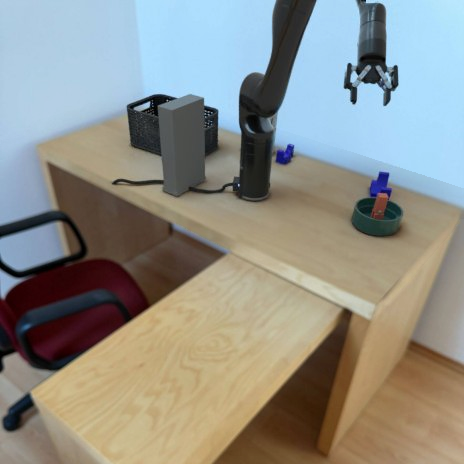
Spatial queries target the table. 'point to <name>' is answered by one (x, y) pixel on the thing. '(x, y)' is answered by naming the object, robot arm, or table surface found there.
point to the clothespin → (379, 206)
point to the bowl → (376, 226)
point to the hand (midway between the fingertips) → (370, 103)
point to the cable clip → (380, 185)
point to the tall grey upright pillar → (182, 143)
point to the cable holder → (285, 154)
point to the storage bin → (148, 131)
